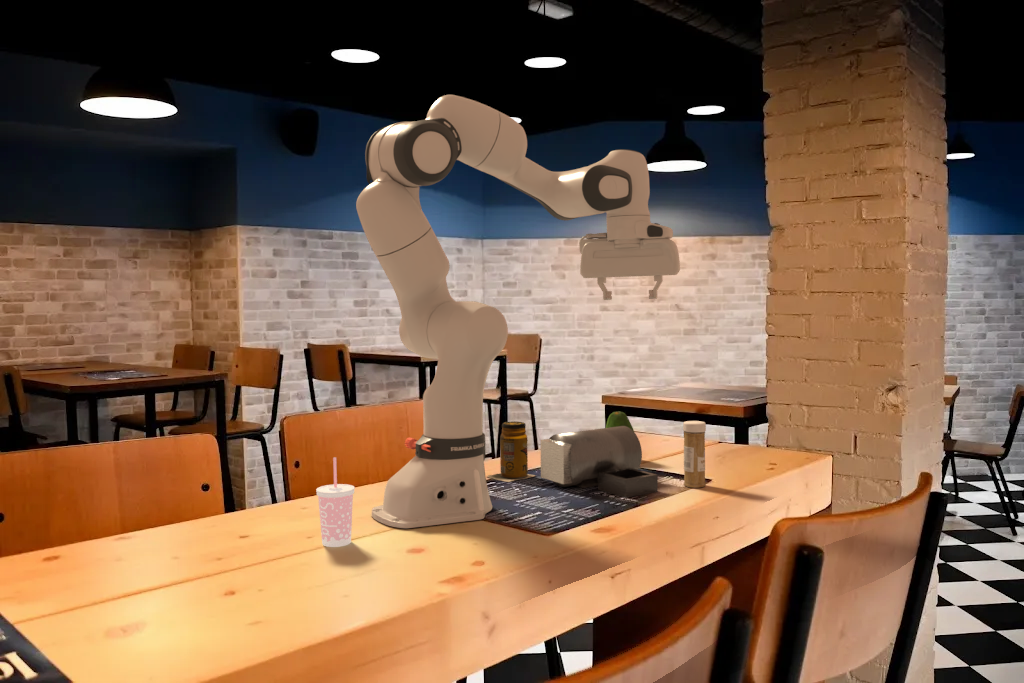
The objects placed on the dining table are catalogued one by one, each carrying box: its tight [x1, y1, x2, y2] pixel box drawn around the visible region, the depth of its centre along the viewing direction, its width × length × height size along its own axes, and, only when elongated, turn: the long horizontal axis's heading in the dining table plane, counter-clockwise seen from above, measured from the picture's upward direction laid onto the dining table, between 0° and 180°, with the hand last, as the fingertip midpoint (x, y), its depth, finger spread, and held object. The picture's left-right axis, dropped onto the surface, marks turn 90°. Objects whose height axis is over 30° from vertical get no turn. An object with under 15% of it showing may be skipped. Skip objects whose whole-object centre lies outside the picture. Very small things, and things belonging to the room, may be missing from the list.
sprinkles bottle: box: [682, 420, 707, 489], centre depth 170 cm, size 5×5×14 cm
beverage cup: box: [315, 457, 355, 548], centre depth 133 cm, size 6×6×14 cm
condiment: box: [486, 421, 537, 483], centre depth 181 cm, size 7×8×12 cm
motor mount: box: [540, 426, 659, 499], centre depth 172 cm, size 23×21×11 cm
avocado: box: [605, 410, 636, 434], centre depth 197 cm, size 8×8×12 cm
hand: (630, 299), depth 168 cm, fingers open, 8 cm apart
